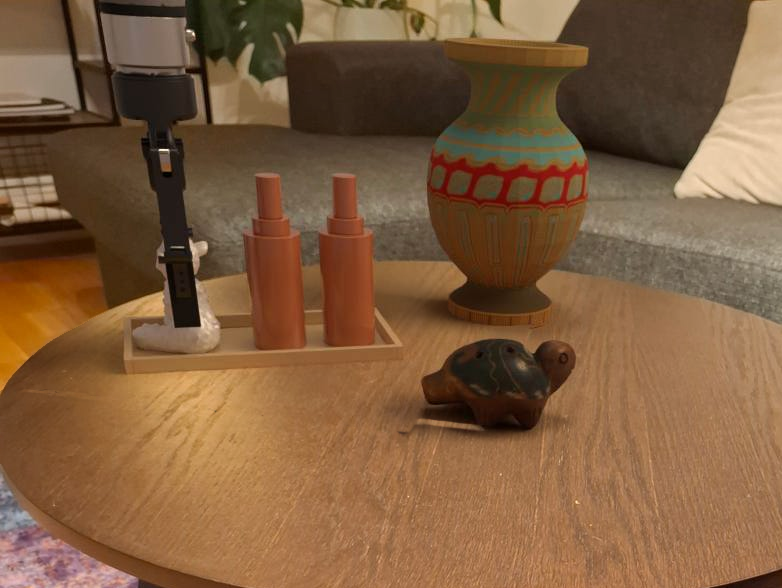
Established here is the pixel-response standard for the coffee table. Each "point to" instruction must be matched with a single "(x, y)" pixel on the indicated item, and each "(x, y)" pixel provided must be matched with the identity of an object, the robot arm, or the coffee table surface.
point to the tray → (242, 353)
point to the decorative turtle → (501, 379)
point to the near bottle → (274, 271)
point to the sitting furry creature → (168, 335)
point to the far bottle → (346, 270)
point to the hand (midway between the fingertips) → (185, 313)
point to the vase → (508, 179)
